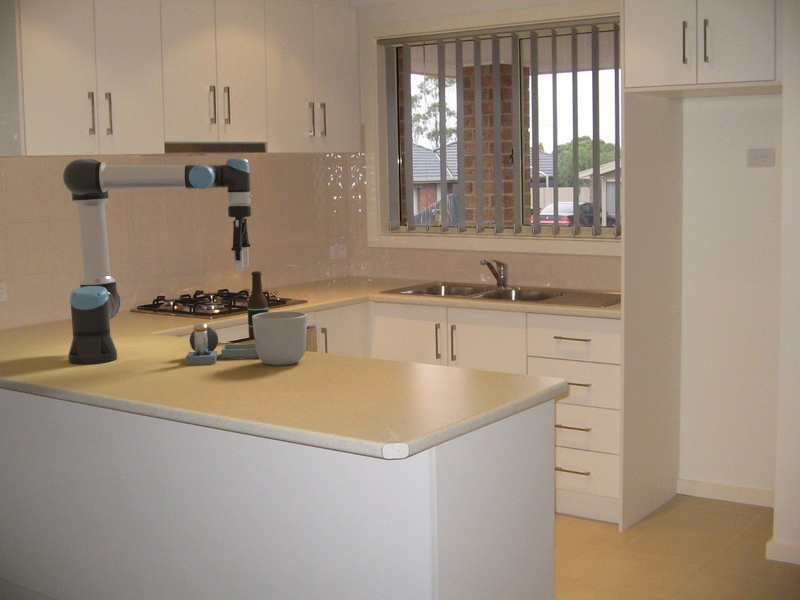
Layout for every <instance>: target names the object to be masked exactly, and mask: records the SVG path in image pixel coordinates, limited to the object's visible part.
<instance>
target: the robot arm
mask: <svg viewBox="0 0 800 600" xmlns="http://www.w3.org/2000/svg"><path fill="white" fill-rule="evenodd" d="M249 164H250V163H249V160H248V159H247V158H227V159H226V161H225V164H215V165H214V164H129V165H128V164H125V165H124V164H111V165H110V164H106V163H105V162H104V161H98V160H96V159H91V158H90V159H89V158H87V159H86V158H84V159H83V158H81V159H80V158H79V159H74V160H71V162H69V163H67V165H66V166H65V168H64V170H63V174H62V179H63V183H64V186H65V187H66V189H67V190H68V191H70V192H71V200H72V202H73V204H75V205H76V206H77V213H78V225H79V237H80V247H81V256H82V257H81V258H82V269H83V277H84V278H83V279H82V280H81V282H79V285H80V287H78V288H75V289H73V290H72V291H71V293H70V297H69V298H70V299H69V302H70V303H69V304H70V311H71V312H70V313H71V315H70V316H71V327H72V328H71V329H72V341H71V343H70V348H69V352H68V362H69V363H71V364H77V365H78V364H79V365H89V364H91V365H93V364H100V363H107V362H111V361H115V360H117V359H118V351H117V349H116V345H115V343H114V341H113V338H112V335H111V323H110V320H111V319H113V318H114V317H115V316H116V315H117V314H118V312H119V311H120V308H121V302H122V301H121V296H120V293H119V292H118V288H117V281H116V279H115V278H114V277H112V274H111V265H110V254H109V253H110V251H109V243H108V231H107V230H108V229H107V220H106V208H105V204H106V203H107V202H108V201H109V190H148V189H149V190H150V189H151V190H153V189H154V190H155V189H156V190H157V189H159V190H162V189H163V190H164V189H171V190H172V189H176V190H177V189H183V190H184V189H190V190H191V189H199V190H205V189H212V188H213V189H214V188H215V189H217V188H227V205H228V207H227V211H228V212H227V215H228V217H229V218H235V220H232V221H233V222H232V223H233V224H232V227H233V230H232V231H233V233H232V235H233V236H232V247H231V249H230V250H231V252H233V265H234V271H244V267H250V262H249V261H250V260H249V248H251V243H250V242H249V233H248V222H247V221H248V220H247V218H250V217H251V216H252V206H251V205H250V204H251V198H253V195H252V194H251V175H250V174H251V173H250V165H249Z"/></svg>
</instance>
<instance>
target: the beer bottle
mask: <svg viewBox="0 0 800 600" xmlns="http://www.w3.org/2000/svg"><path fill="white" fill-rule="evenodd" d="M251 276H252V278H251V280H252V281H251V284H252V285H251V294H250V296H249V298H248V301H247V324H248V337H249V340H255V338H254V330H253V321H252V316H253V315H255V314H259V313H266V312H269V304H268V300H267V298H266V296H265V295H264V292H263V285H262V284H263V283H262V272H261V271H258V270H257V271H252V272H251Z"/></svg>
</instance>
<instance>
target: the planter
mask: <svg viewBox="0 0 800 600" xmlns="http://www.w3.org/2000/svg"><path fill="white" fill-rule="evenodd" d="M252 321H253V330H254V338H255V339H254V344H255V347H256V352H257V354H258V357H259V358H258V359H259V360H260V361H261V362H263V363H264V364H266V365H269V366H274V367H275V366H279V367H280V366H289V365H290V366H291V365H294V364H296V363H298V362H299V361H300V360H301V359H302V358H303V357H304V355H305V352H306V348H307V332H308V331H307V329H308V328H307V326H308V314H307V313H306V312H303V311H302V312H301V311H295V310H292V311H289V310H287V311H286V310H283V311H280V310H278V311H268V312H266V313H259V314H255V315H253V316H252Z"/></svg>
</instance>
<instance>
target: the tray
mask: <svg viewBox="0 0 800 600" xmlns="http://www.w3.org/2000/svg"><path fill="white" fill-rule="evenodd" d="M220 352H221V353H220V354H221V360H232V359H231V358H244V359H260V358H259V357H258V354H257V352H256V347H255V343H239V344H238V343H236V344H235V343H233V344H223V345H222V348H221V350H220Z"/></svg>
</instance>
